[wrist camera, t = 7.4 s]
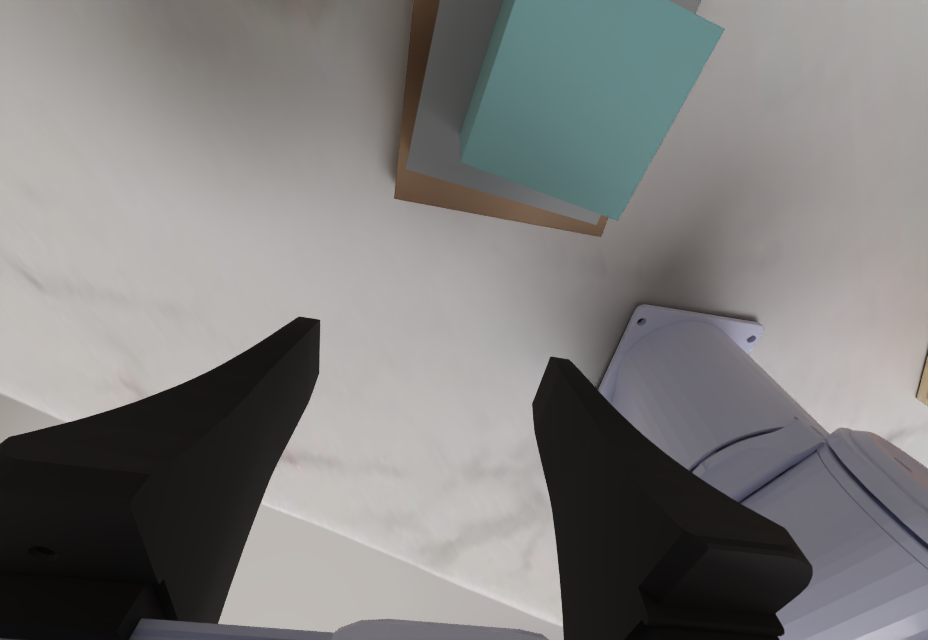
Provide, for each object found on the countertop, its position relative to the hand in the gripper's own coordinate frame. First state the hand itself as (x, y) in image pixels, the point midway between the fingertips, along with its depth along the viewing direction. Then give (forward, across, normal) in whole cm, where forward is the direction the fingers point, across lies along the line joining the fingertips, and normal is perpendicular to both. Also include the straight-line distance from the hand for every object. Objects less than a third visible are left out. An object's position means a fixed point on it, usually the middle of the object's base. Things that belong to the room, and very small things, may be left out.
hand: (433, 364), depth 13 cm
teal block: (+6, -2, -8) cm, 10 cm away
